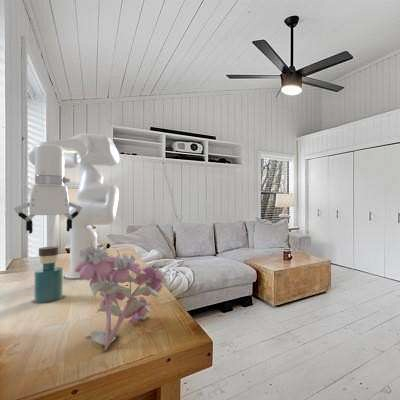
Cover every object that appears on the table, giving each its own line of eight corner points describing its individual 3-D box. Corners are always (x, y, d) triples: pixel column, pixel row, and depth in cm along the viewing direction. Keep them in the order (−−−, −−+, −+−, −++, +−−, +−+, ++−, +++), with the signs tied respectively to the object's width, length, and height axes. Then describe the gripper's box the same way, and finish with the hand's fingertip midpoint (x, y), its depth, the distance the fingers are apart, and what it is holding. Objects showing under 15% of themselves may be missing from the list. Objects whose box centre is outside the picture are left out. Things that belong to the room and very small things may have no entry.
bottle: (50, 294, 103) (50, 252, 103) (67, 296, 102) (68, 253, 102) (28, 302, 96) (28, 256, 96) (47, 303, 95) (47, 257, 94)
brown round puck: (50, 253, 101) (50, 246, 101) (63, 253, 101) (63, 246, 101) (34, 255, 96) (34, 248, 96) (47, 256, 95) (47, 249, 95)
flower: (188, 330, 74) (179, 236, 83) (78, 355, 57) (82, 235, 66) (156, 341, 85) (151, 258, 94) (57, 364, 69) (62, 261, 78)
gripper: (81, 182, 107) (81, 229, 107) (15, 180, 96) (15, 232, 96) (82, 182, 101) (82, 231, 102) (13, 180, 90) (13, 235, 91)
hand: (50, 231), depth 99 cm, fingers open, 9 cm apart
